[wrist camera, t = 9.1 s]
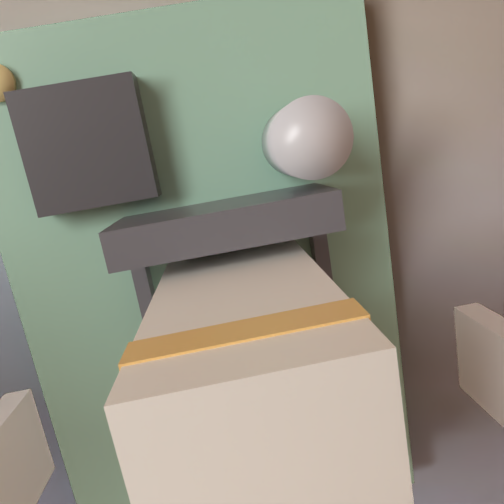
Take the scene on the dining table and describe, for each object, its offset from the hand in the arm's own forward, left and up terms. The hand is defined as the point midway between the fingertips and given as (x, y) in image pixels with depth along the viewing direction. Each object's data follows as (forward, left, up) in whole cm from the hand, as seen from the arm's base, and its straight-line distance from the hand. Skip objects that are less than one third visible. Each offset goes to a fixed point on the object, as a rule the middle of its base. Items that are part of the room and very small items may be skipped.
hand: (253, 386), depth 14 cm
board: (-2, -1, -5) cm, 5 cm away
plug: (0, 0, -4) cm, 4 cm away
